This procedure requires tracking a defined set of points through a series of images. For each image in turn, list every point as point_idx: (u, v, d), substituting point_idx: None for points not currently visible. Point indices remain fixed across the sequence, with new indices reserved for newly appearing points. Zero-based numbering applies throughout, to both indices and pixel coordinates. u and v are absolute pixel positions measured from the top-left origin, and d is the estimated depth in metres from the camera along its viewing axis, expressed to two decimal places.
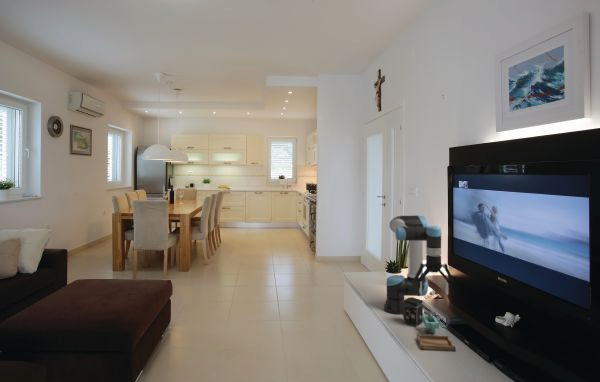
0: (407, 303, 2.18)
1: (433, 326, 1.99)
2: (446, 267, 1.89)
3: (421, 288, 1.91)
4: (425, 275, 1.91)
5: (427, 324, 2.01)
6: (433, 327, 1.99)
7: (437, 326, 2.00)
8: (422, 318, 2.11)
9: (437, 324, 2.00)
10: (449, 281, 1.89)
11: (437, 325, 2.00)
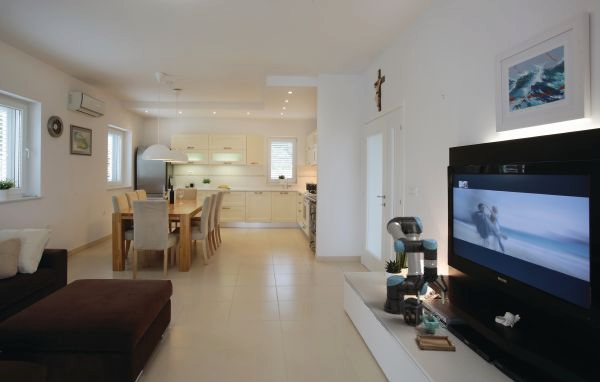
0: (407, 303, 2.18)
1: (433, 326, 1.99)
2: (442, 278, 2.03)
3: (419, 297, 2.05)
4: (422, 285, 2.04)
5: (427, 324, 2.01)
6: (433, 327, 1.99)
7: (437, 326, 2.00)
8: (422, 318, 2.11)
9: (437, 324, 2.00)
10: (445, 291, 2.03)
11: (437, 325, 2.00)
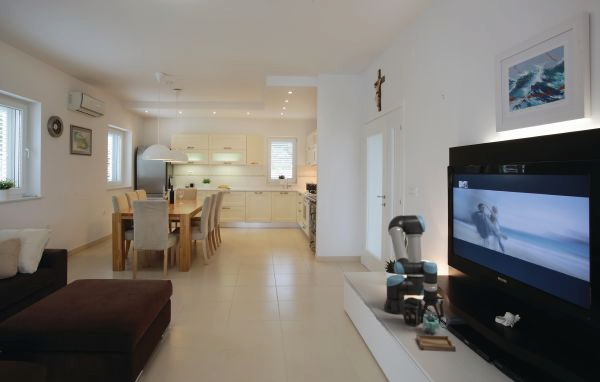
0: (407, 303, 2.18)
1: (433, 326, 1.99)
2: (441, 303, 2.04)
3: (424, 323, 2.05)
4: (425, 310, 2.05)
5: (427, 324, 2.01)
6: (433, 327, 1.99)
7: (437, 326, 2.00)
8: None
9: (437, 324, 2.00)
10: (439, 317, 2.04)
11: (437, 325, 2.00)
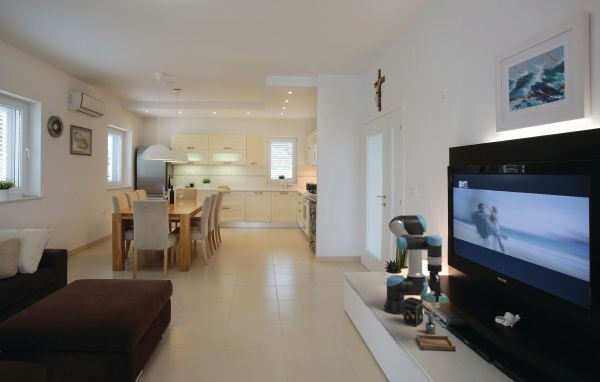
0: (407, 303, 2.18)
1: (420, 296, 1.97)
2: (435, 280, 1.90)
3: None
4: (431, 283, 1.98)
5: (423, 295, 1.99)
6: (420, 297, 1.97)
7: (425, 299, 1.94)
8: None
9: (425, 297, 1.94)
10: (434, 294, 1.91)
11: (425, 298, 1.94)
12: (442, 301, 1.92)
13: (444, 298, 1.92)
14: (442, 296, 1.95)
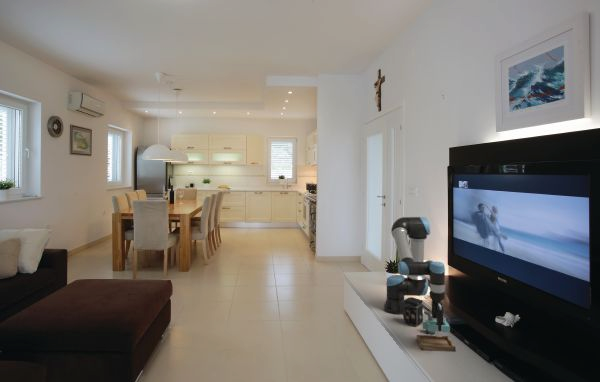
0: (407, 303, 2.18)
1: None
2: (437, 308, 1.85)
3: None
4: (433, 310, 1.94)
5: None
6: None
7: (427, 328, 1.89)
8: None
9: (427, 326, 1.89)
10: (437, 323, 1.86)
11: (427, 327, 1.89)
12: (445, 330, 1.87)
13: (447, 327, 1.87)
14: (445, 324, 1.90)
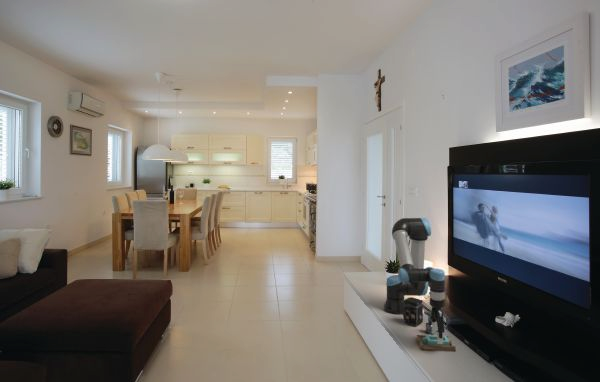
0: (407, 303, 2.18)
1: (422, 339, 1.92)
2: (438, 315, 1.85)
3: (432, 328, 1.97)
4: (432, 316, 1.95)
5: (425, 337, 1.95)
6: None
7: (427, 343, 1.89)
8: None
9: (427, 341, 1.89)
10: None
11: (427, 342, 1.89)
12: (445, 345, 1.87)
13: (447, 342, 1.87)
14: (445, 339, 1.91)
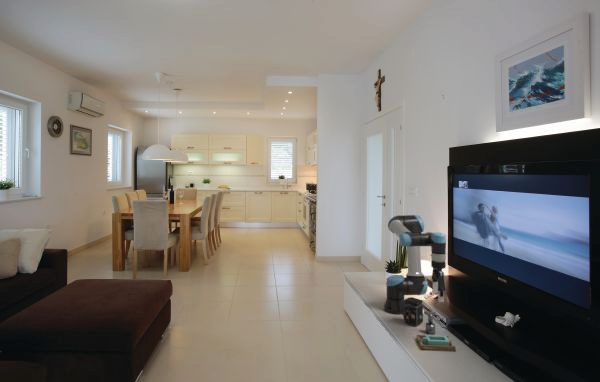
0: (407, 303, 2.18)
1: (422, 339, 1.92)
2: (438, 274, 1.93)
3: None
4: (433, 276, 2.04)
5: (425, 337, 1.95)
6: None
7: (427, 343, 1.89)
8: None
9: (427, 341, 1.89)
10: (439, 289, 1.92)
11: (427, 342, 1.89)
12: (445, 345, 1.87)
13: (447, 342, 1.87)
14: (445, 339, 1.91)
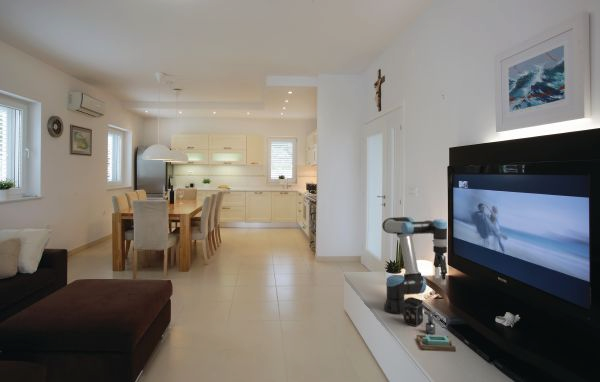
0: (407, 303, 2.18)
1: (422, 339, 1.92)
2: (440, 258, 2.04)
3: None
4: (435, 262, 2.15)
5: (425, 337, 1.95)
6: None
7: (427, 343, 1.89)
8: None
9: (427, 341, 1.89)
10: (441, 272, 2.02)
11: (427, 342, 1.89)
12: (445, 345, 1.87)
13: (447, 342, 1.87)
14: (445, 339, 1.91)
